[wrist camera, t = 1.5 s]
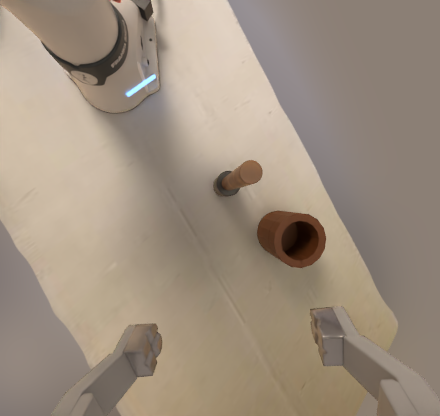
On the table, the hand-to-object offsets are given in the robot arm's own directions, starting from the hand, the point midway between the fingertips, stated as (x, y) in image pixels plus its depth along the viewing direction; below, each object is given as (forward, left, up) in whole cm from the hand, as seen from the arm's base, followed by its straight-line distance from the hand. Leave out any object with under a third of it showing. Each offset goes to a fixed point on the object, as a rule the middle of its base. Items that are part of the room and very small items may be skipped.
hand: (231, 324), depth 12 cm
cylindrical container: (-1, +17, -38) cm, 42 cm away
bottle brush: (-10, +3, -38) cm, 40 cm away
